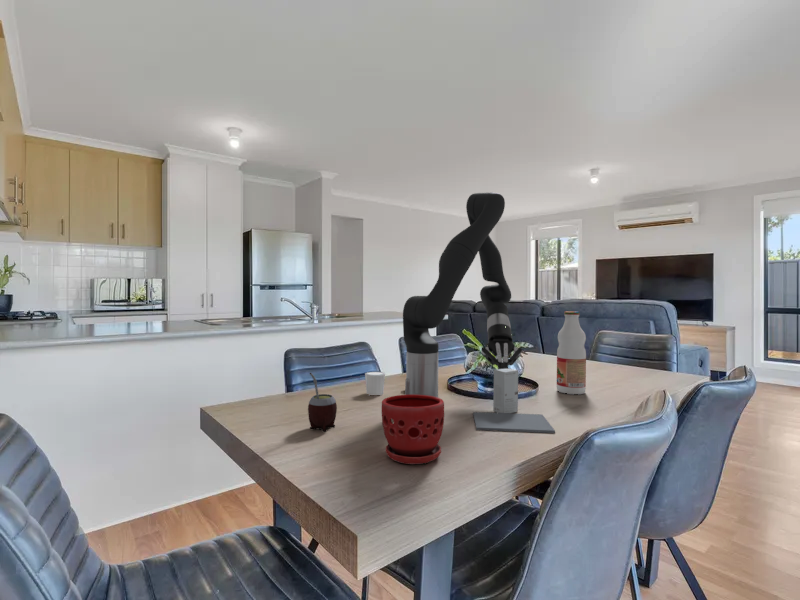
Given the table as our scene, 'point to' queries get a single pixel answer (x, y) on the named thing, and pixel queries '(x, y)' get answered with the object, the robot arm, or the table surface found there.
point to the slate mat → (512, 422)
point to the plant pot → (413, 427)
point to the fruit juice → (571, 356)
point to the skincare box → (505, 391)
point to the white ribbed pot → (374, 383)
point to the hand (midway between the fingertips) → (503, 375)
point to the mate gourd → (321, 410)
